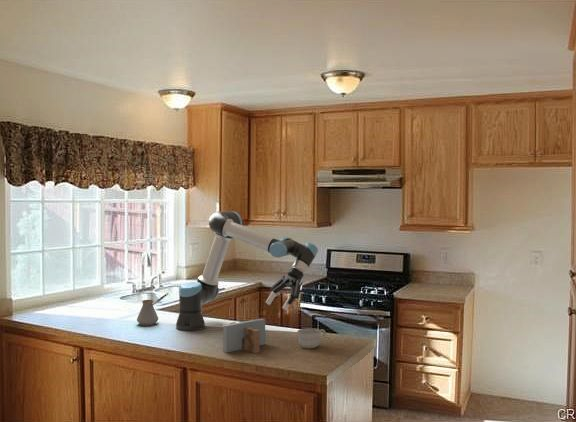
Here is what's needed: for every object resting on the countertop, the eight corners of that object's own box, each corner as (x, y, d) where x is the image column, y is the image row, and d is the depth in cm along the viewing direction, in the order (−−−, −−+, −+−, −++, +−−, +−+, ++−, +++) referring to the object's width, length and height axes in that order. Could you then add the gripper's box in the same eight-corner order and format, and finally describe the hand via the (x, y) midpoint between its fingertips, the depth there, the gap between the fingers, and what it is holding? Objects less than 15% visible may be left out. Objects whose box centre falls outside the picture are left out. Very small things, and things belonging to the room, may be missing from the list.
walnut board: (230, 343, 262) (230, 322, 262) (234, 342, 263) (234, 322, 263) (255, 353, 246) (255, 331, 246) (259, 352, 248) (259, 330, 248)
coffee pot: (146, 327, 292) (146, 299, 291) (132, 324, 298) (132, 297, 298) (176, 320, 310) (176, 293, 309) (161, 317, 316) (161, 291, 316)
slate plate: (223, 351, 249) (223, 325, 249) (261, 343, 263) (262, 318, 263) (226, 352, 247) (226, 326, 247) (265, 344, 261) (265, 319, 261)
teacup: (300, 350, 251) (300, 333, 250) (294, 344, 261) (295, 327, 261) (329, 349, 254) (330, 331, 254) (322, 342, 264) (323, 326, 264)
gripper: (318, 278, 269) (296, 315, 261) (286, 271, 288) (265, 305, 281) (309, 270, 265) (286, 307, 257) (278, 263, 284) (256, 297, 277)
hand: (275, 306), depth 269 cm, fingers open, 13 cm apart
